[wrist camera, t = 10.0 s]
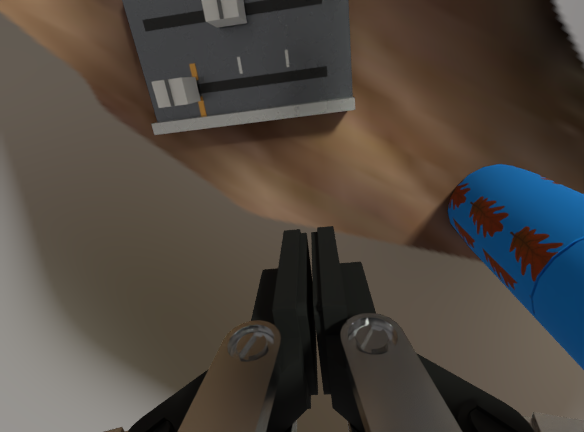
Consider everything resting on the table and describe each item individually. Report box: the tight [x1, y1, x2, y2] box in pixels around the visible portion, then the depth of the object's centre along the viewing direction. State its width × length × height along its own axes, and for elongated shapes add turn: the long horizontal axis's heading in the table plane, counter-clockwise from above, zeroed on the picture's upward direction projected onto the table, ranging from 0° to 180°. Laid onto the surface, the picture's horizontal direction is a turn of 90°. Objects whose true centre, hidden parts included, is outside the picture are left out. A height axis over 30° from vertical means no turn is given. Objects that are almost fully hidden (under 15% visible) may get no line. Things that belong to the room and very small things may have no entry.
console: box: [122, 0, 355, 135], centre depth 33 cm, size 22×14×4 cm, turn 97°
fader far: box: [151, 77, 201, 108], centre depth 32 cm, size 3×2×4 cm
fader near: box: [201, 0, 247, 28], centre depth 29 cm, size 3×2×4 cm
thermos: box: [448, 164, 584, 370], centre depth 29 cm, size 11×11×25 cm
